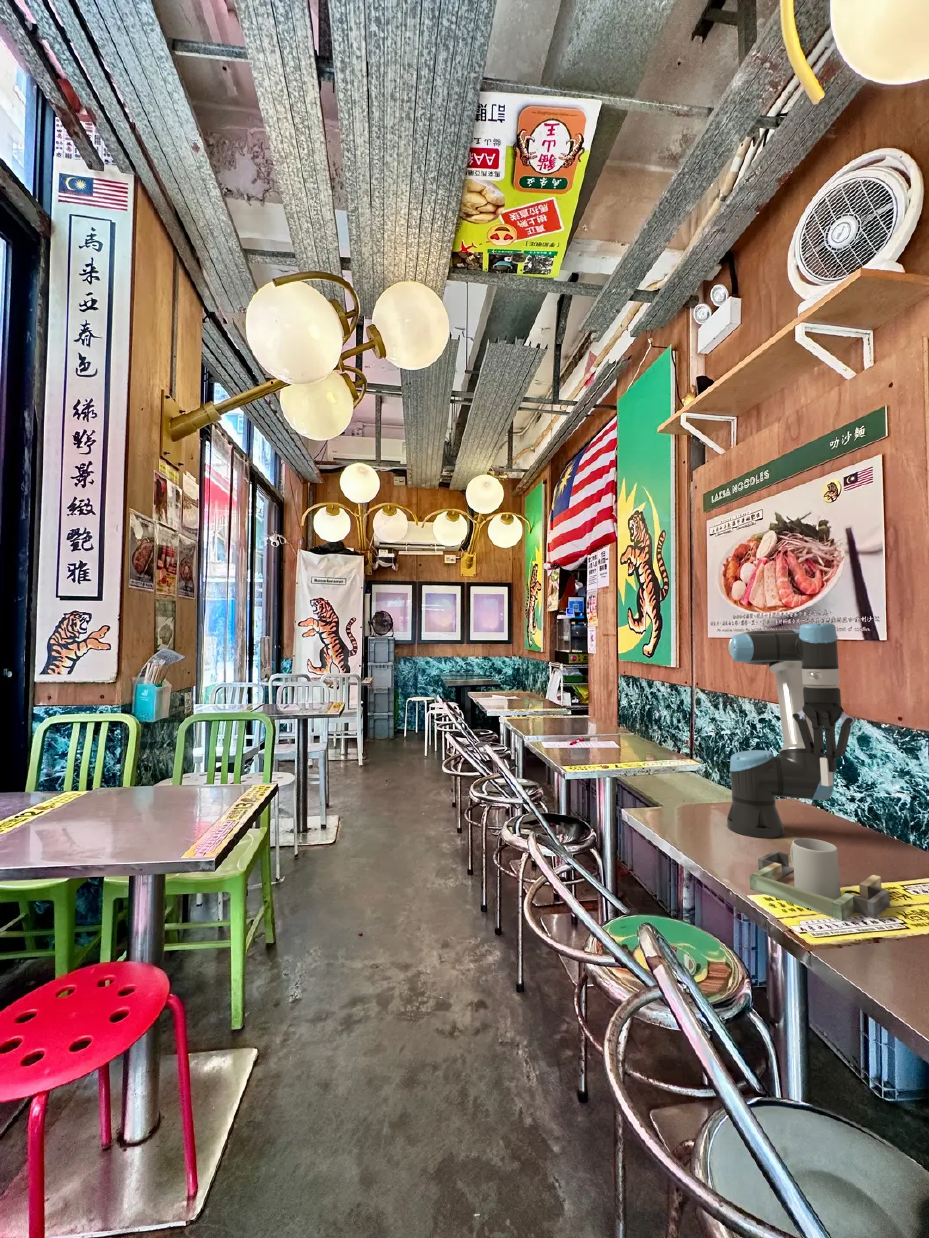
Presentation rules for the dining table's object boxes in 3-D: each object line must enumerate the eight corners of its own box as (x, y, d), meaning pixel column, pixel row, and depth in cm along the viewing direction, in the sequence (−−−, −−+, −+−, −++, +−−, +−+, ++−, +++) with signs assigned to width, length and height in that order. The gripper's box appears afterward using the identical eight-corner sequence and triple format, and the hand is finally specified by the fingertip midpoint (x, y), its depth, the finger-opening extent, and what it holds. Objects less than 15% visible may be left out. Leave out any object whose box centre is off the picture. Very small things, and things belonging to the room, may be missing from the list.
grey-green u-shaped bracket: (779, 860, 134) (779, 848, 135) (901, 896, 114) (900, 882, 114) (735, 883, 122) (734, 870, 122) (862, 927, 101) (861, 911, 102)
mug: (851, 903, 111) (847, 850, 112) (812, 905, 111) (809, 852, 112) (811, 879, 123) (808, 832, 124) (776, 881, 123) (773, 833, 123)
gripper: (785, 686, 130) (790, 782, 128) (846, 688, 119) (853, 793, 118) (798, 684, 134) (804, 777, 133) (858, 686, 124) (865, 787, 122)
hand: (827, 784), depth 125 cm, fingers closed
